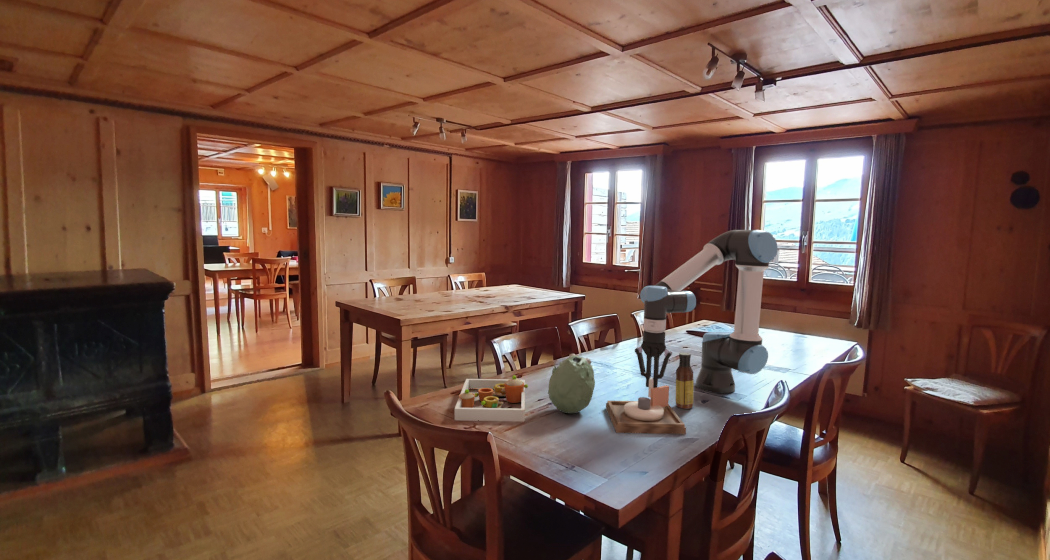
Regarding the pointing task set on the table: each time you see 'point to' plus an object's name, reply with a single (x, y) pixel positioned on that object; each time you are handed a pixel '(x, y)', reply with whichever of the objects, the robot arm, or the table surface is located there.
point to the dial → (649, 405)
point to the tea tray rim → (488, 413)
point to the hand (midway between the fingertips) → (651, 396)
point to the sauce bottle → (684, 382)
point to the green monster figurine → (572, 384)
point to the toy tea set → (508, 389)
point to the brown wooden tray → (630, 425)
